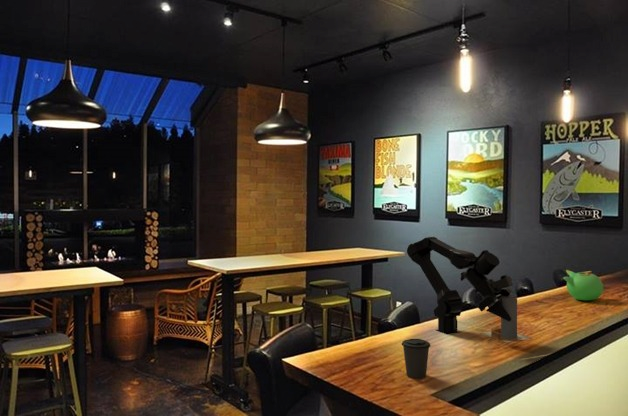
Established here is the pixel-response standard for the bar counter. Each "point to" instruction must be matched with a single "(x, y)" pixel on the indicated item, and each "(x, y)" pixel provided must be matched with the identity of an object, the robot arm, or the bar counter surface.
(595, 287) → the toy bird
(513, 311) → the dark grey cylinder
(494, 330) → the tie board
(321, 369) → the bar counter surface
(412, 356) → the coffee cup
